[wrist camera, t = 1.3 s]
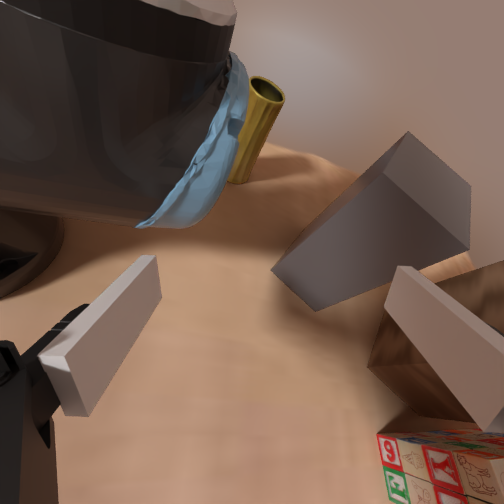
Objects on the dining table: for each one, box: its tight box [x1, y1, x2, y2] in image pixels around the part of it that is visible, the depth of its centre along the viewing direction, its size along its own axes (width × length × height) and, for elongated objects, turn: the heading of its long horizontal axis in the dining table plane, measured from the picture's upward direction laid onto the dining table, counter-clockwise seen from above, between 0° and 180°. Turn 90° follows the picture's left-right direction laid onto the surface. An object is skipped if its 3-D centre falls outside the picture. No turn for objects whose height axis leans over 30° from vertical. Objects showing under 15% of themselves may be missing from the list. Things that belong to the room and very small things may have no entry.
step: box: [271, 131, 471, 312], centre depth 30 cm, size 12×9×20 cm
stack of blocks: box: [377, 429, 504, 504], centre depth 26 cm, size 21×6×12 cm, turn 89°
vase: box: [227, 76, 285, 184], centre depth 35 cm, size 6×6×14 cm
